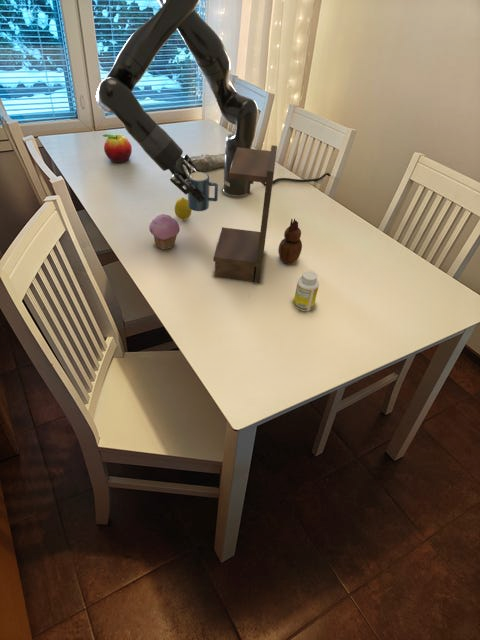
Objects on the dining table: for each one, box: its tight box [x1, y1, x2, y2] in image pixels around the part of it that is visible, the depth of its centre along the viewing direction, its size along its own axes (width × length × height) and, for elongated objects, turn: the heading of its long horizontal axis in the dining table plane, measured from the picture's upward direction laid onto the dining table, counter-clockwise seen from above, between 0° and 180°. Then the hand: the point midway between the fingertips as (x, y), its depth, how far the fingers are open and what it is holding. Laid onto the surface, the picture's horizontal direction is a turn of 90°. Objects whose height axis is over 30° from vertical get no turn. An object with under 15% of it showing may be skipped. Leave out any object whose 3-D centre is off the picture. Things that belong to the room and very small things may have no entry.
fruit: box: [102, 133, 133, 163], centre depth 175 cm, size 11×11×10 cm
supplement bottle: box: [293, 270, 320, 312], centre depth 115 cm, size 6×6×10 cm
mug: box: [187, 171, 219, 212], centre depth 123 cm, size 8×6×9 cm
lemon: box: [174, 197, 193, 221], centre depth 145 cm, size 6×6×8 cm
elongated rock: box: [190, 153, 225, 173], centre depth 179 cm, size 35×5×10 cm
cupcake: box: [148, 213, 181, 250], centre depth 132 cm, size 9×9×10 cm
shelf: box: [212, 145, 278, 284], centre depth 120 cm, size 14×16×33 cm
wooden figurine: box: [277, 217, 303, 265], centre depth 129 cm, size 7×6×15 cm
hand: (204, 194), depth 124 cm, fingers closed on mug, 6 cm apart
